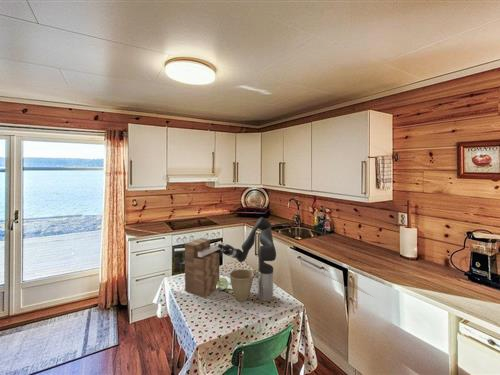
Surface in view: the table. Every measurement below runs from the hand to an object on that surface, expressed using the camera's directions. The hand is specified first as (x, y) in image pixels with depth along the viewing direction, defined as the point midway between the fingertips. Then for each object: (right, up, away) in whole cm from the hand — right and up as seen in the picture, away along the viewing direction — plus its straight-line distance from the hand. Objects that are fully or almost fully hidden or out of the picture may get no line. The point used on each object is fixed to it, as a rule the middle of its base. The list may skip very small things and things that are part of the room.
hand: (216, 244), depth 171 cm
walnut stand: (-9, -29, -5) cm, 30 cm away
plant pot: (+18, -30, -16) cm, 38 cm away
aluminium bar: (-3, -3, -4) cm, 6 cm away
